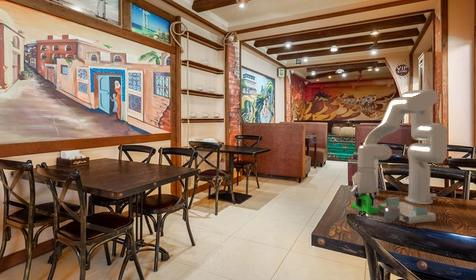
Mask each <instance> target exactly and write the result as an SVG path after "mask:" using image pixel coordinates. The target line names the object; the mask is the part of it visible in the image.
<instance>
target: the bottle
mask: <svg viewBox="0 0 476 280" xmlns="http://www.w3.org/2000/svg"><path fill="white" fill-rule="evenodd" d="M374 167H375V168H376V170H374V173H375V176H376V187H377V188H378V189H379V160H378V159H375V163H374Z"/></svg>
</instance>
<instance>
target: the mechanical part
mask: <svg viewBox="0 0 476 280" xmlns="http://www.w3.org/2000/svg"><path fill="white" fill-rule="evenodd" d="M360 199H361V200H362V202H361V207H359V206H357V205H356V201H355V202H354V201H353V202H351V207H353V208H355V209H357V210H358V211H361V210H362V211H361V212H363V211H365V212H366V213H365V212H364V213H365V214H368V215H370V214H379V213H380V212H379V207H375V206H374V205H373V206H372V201H371V198H370V197H369V195H368V194H367V195H366V196H361V198H360Z"/></svg>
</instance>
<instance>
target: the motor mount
mask: <svg viewBox="0 0 476 280" xmlns="http://www.w3.org/2000/svg"><path fill="white" fill-rule="evenodd" d="M378 209H379V211H380V212H382V213H383V221H384V220H386V221H391V222H398V223H399V224H400V221H402V222H404V223H406V224H409V225H410V224H418V223H426V222H427V223H429V222H436V221H437V220H436V218H437V216H436V215H437V214H436V213H434V212H432V211H428V210H429V208H428V207H427V206H419V207H417V206H415V205H412V204H409V203H407V202H403V201H400V197H397V196H395V197H393V196H392V197H386V199H385V203H378Z"/></svg>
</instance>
